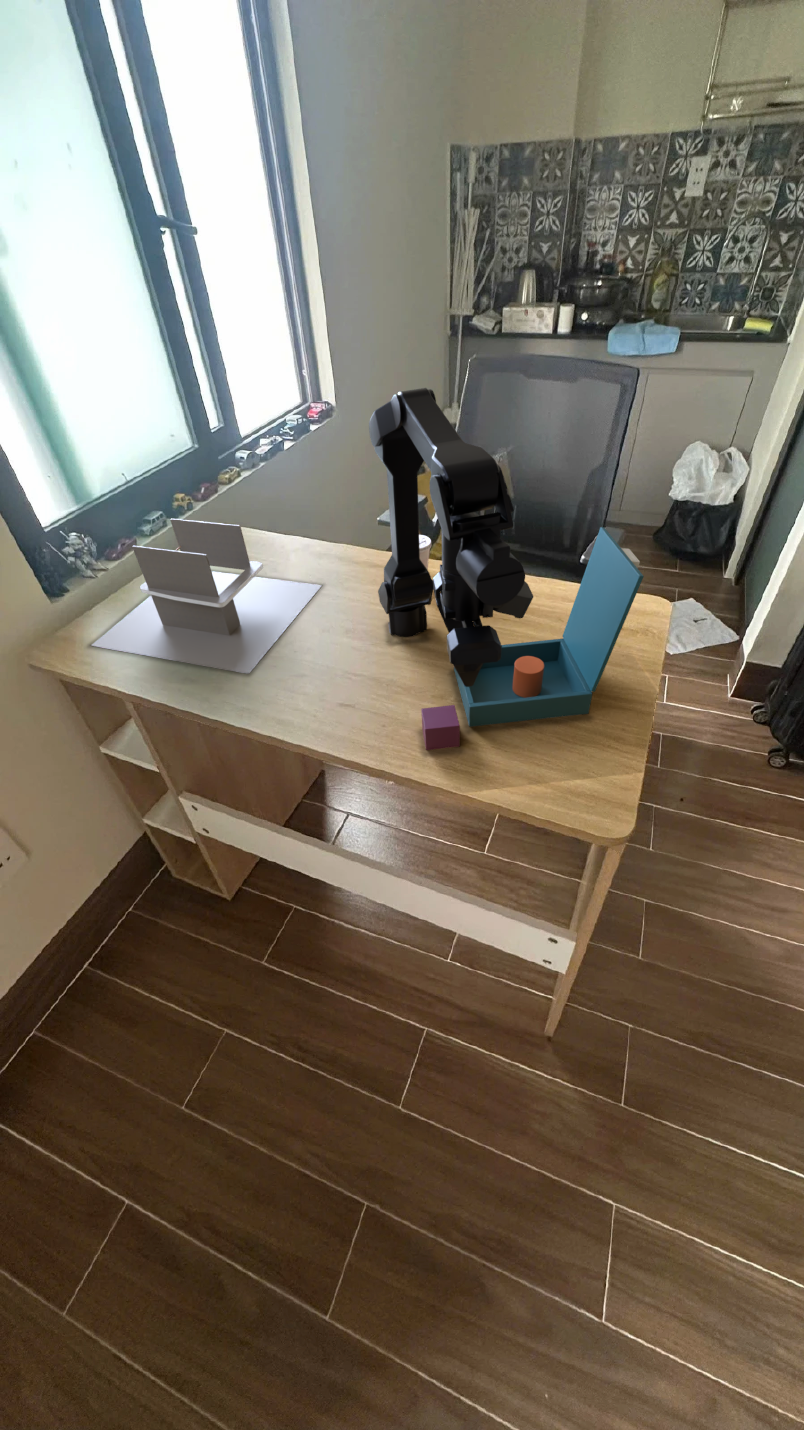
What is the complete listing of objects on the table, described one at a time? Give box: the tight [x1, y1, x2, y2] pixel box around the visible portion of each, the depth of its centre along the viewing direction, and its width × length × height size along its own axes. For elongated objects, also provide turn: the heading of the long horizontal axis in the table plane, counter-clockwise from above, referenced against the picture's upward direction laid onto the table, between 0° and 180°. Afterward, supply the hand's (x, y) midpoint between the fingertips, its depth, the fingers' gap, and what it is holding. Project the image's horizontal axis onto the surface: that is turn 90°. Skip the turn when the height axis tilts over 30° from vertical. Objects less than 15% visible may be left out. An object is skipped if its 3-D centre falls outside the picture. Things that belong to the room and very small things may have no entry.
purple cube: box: [420, 704, 461, 751], centre depth 89 cm, size 5×5×5 cm
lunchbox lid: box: [562, 526, 644, 693], centre depth 88 cm, size 19×15×3 cm
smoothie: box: [419, 534, 433, 571], centre depth 120 cm, size 6×6×14 cm
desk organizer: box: [90, 518, 322, 675], centre depth 115 cm, size 31×35×17 cm
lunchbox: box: [453, 637, 593, 728], centre depth 96 cm, size 19×15×5 cm
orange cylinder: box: [512, 656, 544, 698], centre depth 95 cm, size 5×5×5 cm
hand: (463, 665), depth 84 cm, fingers open, 9 cm apart
